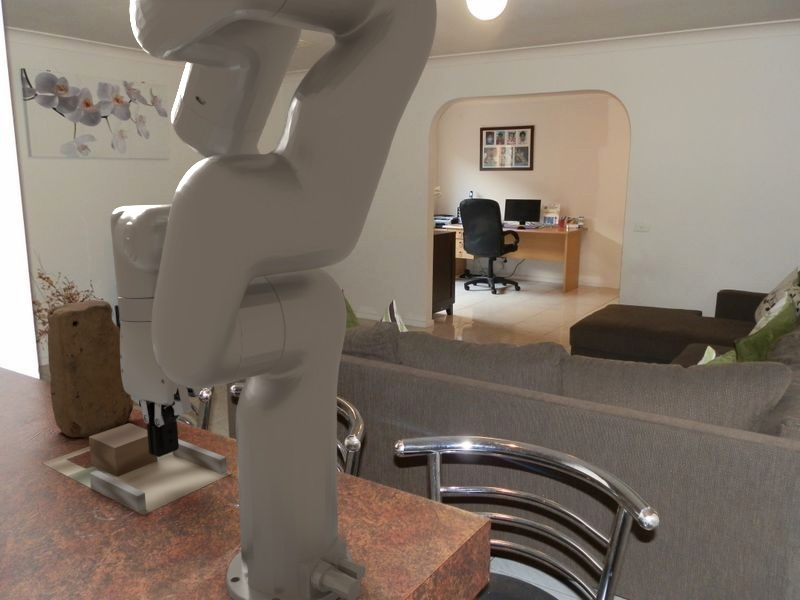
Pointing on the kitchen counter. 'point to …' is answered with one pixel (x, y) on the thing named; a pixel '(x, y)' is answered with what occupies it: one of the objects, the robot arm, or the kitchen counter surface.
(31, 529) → the kitchen counter surface
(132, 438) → the walnut block
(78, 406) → the block
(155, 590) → the kitchen counter surface
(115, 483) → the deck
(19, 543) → the kitchen counter surface
